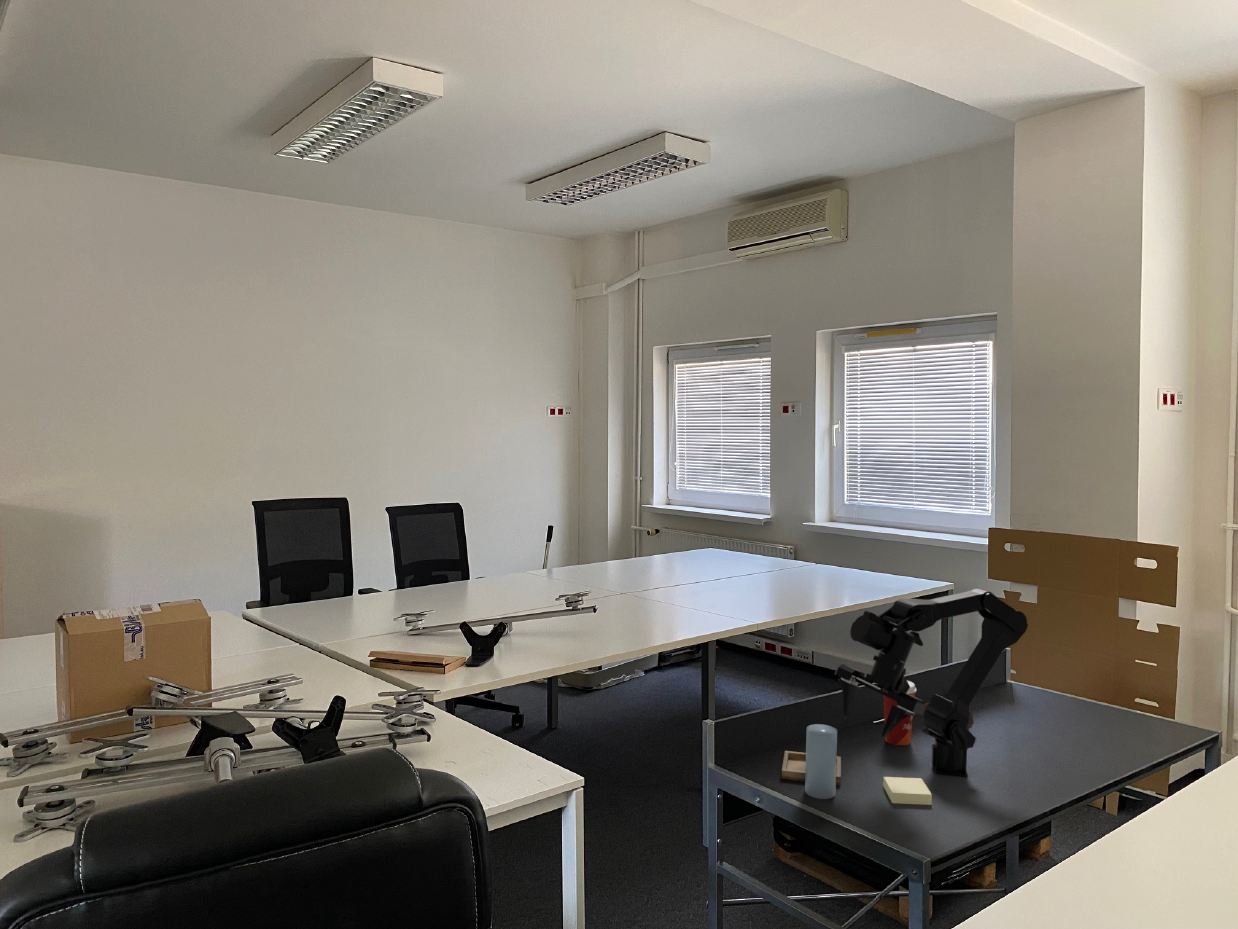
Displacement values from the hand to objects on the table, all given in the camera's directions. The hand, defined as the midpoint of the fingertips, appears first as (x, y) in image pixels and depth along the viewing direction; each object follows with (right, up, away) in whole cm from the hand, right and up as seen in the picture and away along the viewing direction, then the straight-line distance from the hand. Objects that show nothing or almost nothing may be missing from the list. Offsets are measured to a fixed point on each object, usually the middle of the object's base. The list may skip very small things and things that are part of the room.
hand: (863, 727), depth 179 cm
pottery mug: (+29, -11, +31) cm, 44 cm away
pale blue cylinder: (-10, -12, -5) cm, 16 cm away
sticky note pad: (+7, -12, -6) cm, 15 cm away
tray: (-10, -11, +5) cm, 16 cm away
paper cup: (+15, -11, +23) cm, 29 cm away
